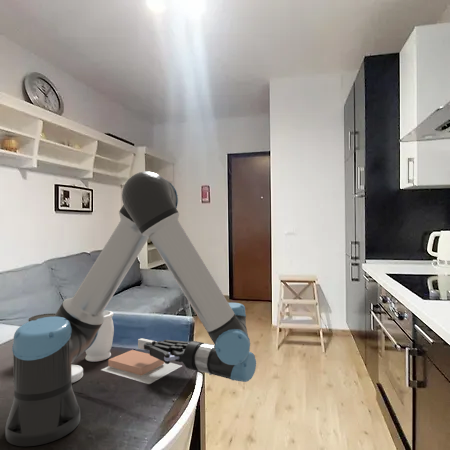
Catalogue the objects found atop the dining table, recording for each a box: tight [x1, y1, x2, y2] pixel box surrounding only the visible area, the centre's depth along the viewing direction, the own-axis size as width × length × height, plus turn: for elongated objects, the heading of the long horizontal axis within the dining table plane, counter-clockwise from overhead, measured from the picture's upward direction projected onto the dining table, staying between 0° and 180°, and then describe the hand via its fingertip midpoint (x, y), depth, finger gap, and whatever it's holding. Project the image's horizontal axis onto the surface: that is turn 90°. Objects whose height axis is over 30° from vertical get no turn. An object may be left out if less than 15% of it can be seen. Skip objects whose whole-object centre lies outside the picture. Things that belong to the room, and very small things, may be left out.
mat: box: [100, 362, 183, 385], centre depth 113 cm, size 20×15×1 cm
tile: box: [107, 349, 164, 376], centre depth 114 cm, size 2×10×14 cm
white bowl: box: [71, 364, 84, 384], centre depth 106 cm, size 10×10×4 cm
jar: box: [84, 310, 115, 363], centre depth 125 cm, size 11×10×15 cm
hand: (139, 343), depth 113 cm, fingers closed
